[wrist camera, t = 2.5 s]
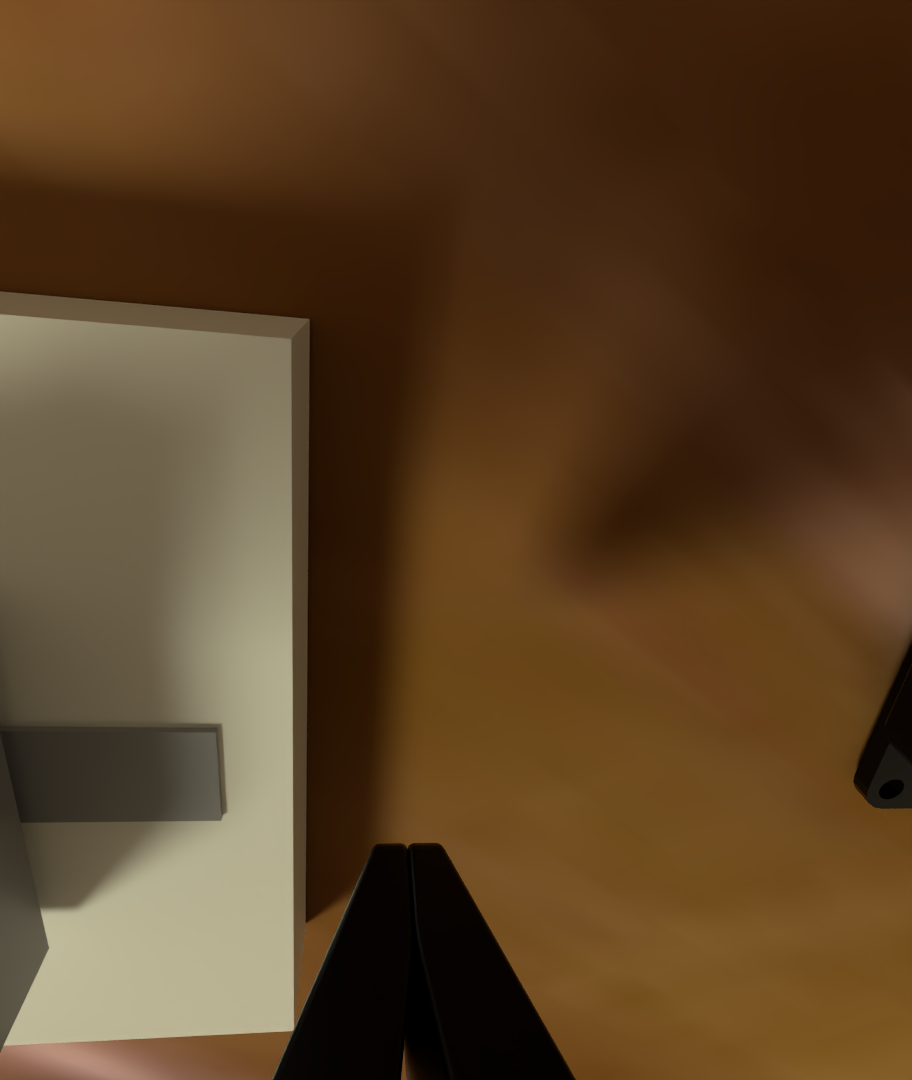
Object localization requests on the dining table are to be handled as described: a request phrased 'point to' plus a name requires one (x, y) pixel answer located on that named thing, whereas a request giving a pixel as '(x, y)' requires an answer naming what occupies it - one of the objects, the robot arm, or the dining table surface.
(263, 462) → the dimmer console
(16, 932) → the fader cap
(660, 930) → the dining table surface
